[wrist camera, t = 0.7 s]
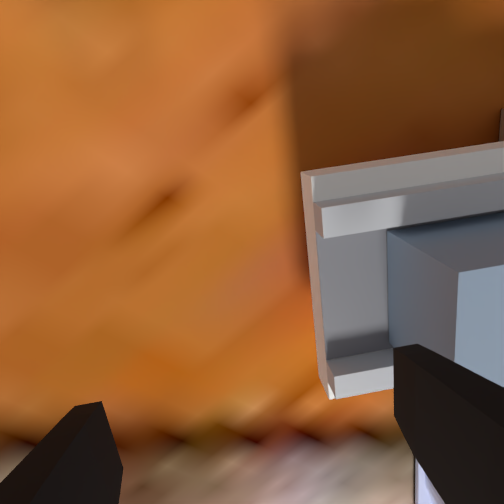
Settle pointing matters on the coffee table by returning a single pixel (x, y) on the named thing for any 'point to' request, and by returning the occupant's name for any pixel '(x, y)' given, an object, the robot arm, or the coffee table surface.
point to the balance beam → (380, 246)
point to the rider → (450, 291)
